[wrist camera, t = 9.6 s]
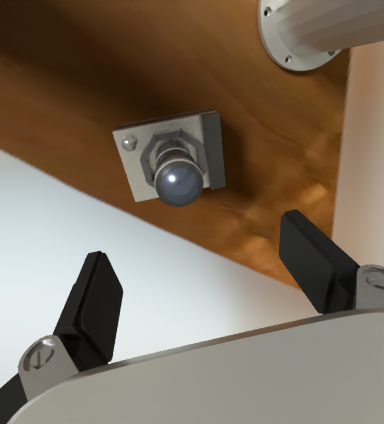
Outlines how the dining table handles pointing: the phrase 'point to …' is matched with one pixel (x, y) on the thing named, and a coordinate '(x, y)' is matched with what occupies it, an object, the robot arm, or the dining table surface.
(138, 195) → the grey striped block
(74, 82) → the dining table surface
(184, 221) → the dining table surface
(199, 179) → the lens
